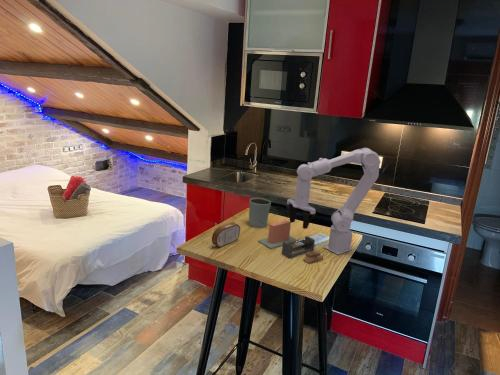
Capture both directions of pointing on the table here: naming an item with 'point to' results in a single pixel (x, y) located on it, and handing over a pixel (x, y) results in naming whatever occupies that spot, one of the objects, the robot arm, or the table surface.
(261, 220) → the grey cylindrical pot
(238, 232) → the tin
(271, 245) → the mat
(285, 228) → the salmon pink rectangular block
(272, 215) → the table surface
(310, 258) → the offcut stack
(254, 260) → the table surface
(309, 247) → the rack
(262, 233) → the table surface
